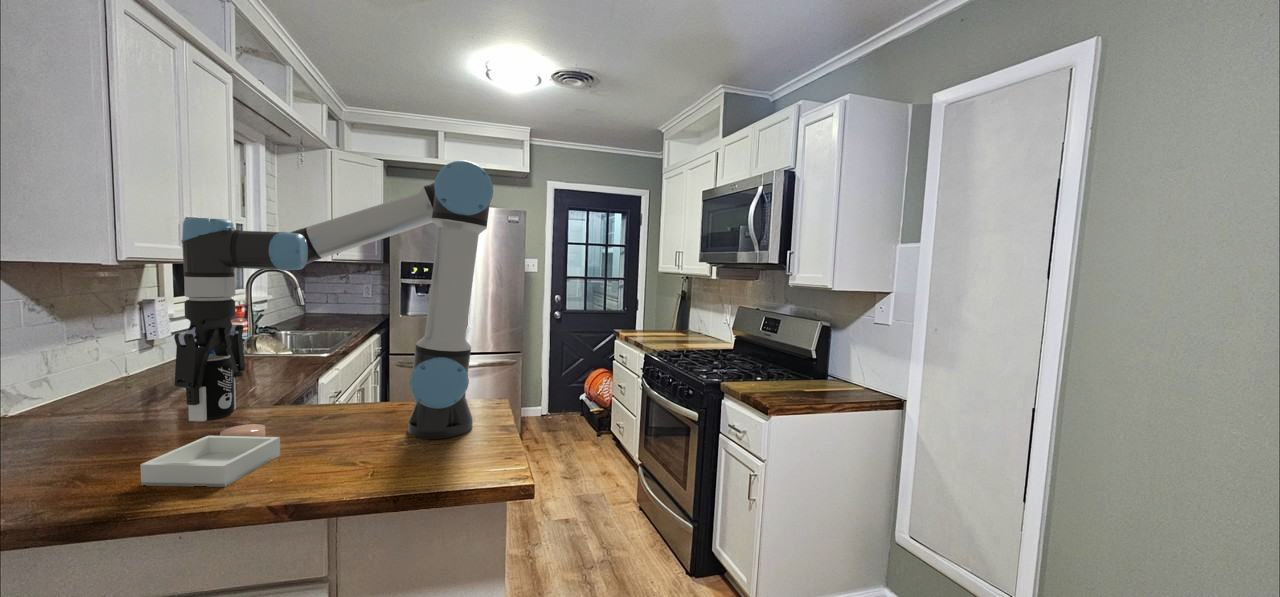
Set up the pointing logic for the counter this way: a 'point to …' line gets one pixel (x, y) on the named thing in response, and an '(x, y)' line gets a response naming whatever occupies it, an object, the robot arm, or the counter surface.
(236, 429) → the pink shiny round part
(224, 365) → the beverage can
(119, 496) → the counter surface
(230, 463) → the white square tray
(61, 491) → the counter surface
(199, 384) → the robot arm
